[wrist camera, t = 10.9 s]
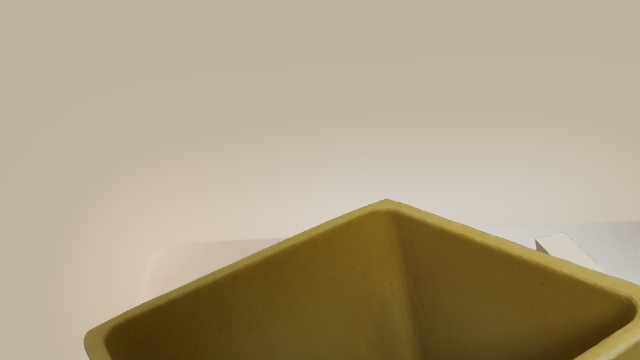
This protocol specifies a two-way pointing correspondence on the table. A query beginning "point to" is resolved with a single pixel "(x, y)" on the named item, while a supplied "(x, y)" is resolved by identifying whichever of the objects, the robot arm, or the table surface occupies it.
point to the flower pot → (385, 300)
